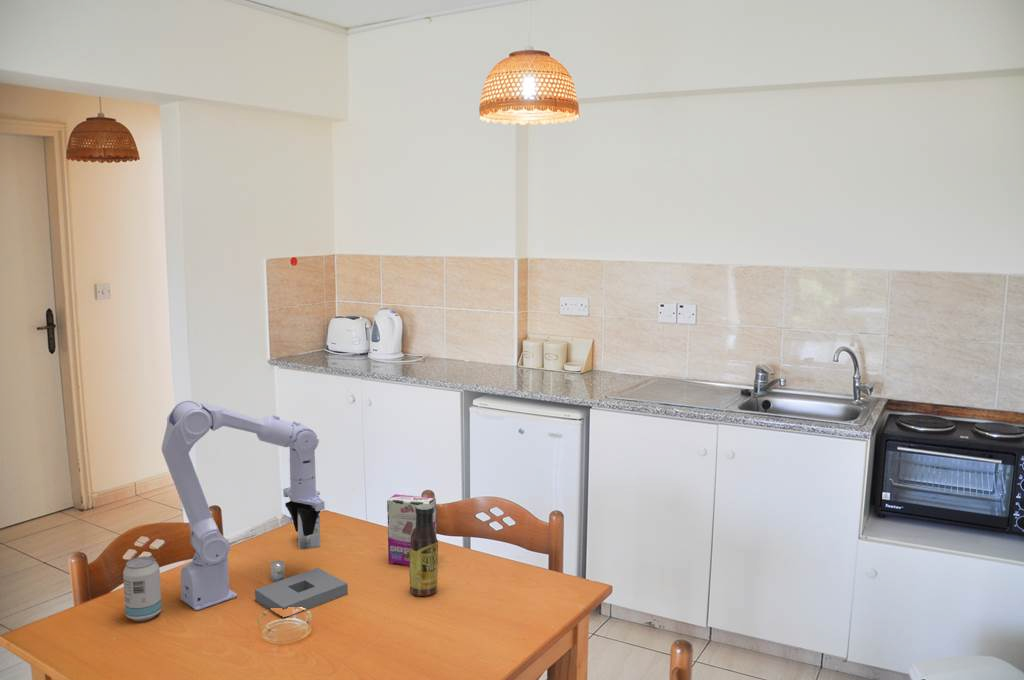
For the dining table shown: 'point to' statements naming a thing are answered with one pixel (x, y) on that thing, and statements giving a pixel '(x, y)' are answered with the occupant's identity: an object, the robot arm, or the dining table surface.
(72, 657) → the dining table surface
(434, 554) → the sauce bottle
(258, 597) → the hole board
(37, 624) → the dining table surface
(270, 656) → the dining table surface
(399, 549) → the candy bar box
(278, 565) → the short pin
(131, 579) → the beverage can
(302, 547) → the tall pin
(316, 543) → the medicine box
